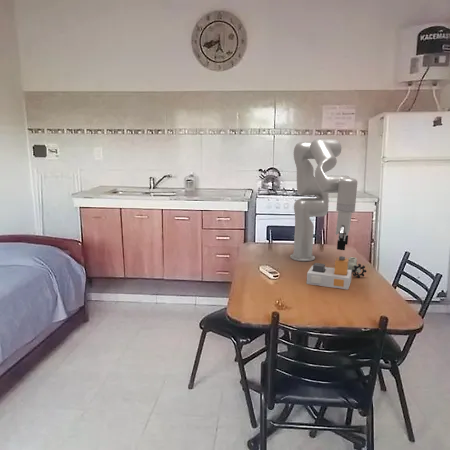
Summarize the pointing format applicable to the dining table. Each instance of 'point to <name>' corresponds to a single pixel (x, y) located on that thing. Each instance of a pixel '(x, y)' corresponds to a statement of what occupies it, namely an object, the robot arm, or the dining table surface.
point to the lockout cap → (341, 266)
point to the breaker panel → (329, 278)
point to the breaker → (319, 267)
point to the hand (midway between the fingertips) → (342, 246)
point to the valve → (355, 267)
